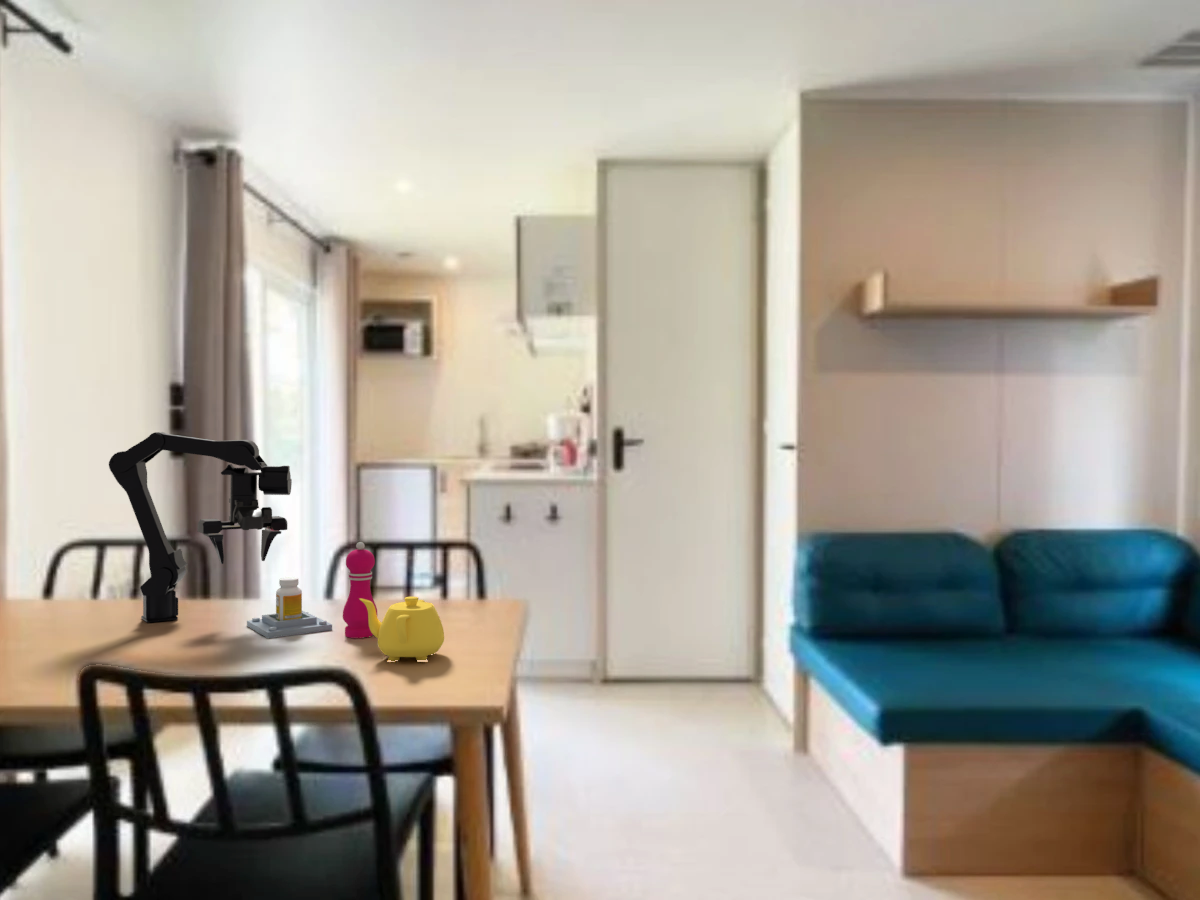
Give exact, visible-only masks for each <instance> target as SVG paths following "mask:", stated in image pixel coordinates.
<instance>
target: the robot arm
mask: <svg viewBox="0 0 1200 900" xmlns="http://www.w3.org/2000/svg"><path fill="white" fill-rule="evenodd" d="M162 451H169V452H173V453H174V452H176V453H183V454H191V455H198V456H205V457H211V458H212V457H213V458H215V459H219V460H221V461H224V462H227V463H230V464H227V466H226V467H225V469H223V470H222V471H221V472H220V474H221V476H230V480H229V481H230V486H229V487H230V488H229V491H230V492H229V493H230V495H229V498H228V502H229V515H228V521H222V520H221V519H218V518H203V519H200V520H199V521H197V532H199V533H201V534H202V535H203V536H204V537H208V538H209V540H210V542H211V544H212V545H213V547H214V550H215V554H216V555H217V558H218V560H219V563H220V564H221V565H223V564H224V560H225V556H224V545H223V544H224V543H223V540H224V534H223V533H221V532H222V531H224V530H225V531H226V530H242V531H249V530H257V531H258V530H261V540H260V541H261V545H260V550H261V551H260V557H261V562H265V560H266V558H267V555H268V552H269V550H270V547H271V545H272V543H273V540H274V539H275V538H276V537H277V536H278V535H281V534H282V531H286V530H287V531H288V520H287V518H285V517H282V516H279V515H278V516H277V515H273V509H272V507H270V506H266V507H261V508H260V507H259V499H257V498H258V495H257V494H258V490H259V491H260V492H263V495H265V496H267V495H269V496H290V495H291V492H292V483H293V482H292V478H291V470H290V467H291V466H289V465H280V466H278V465H277V466H274V465H273V466H272V465H270V466H269V465H268V464H267V463H266V462H265V460H264V459H263V458H262V457H261V456H260V449H259V447H258V445H257V444H256V442H254V441H253V440H250V439H238V440H237V439H235V440H234V439H231V440H229V439H228V440H213V439H206V438H205V439H204V438H201V437H199V438H198V437H192V436H185V435H177V434H170V433H166V432H163V431H159V432H153V433H151V434H150V435H148V436H147V437H145V438H144V439H143V440H142V441H139V442H138V443H136V444H135V445H133V446H131V447H130V448H128V449H127V450H124V451H123V450H122V451H118V452H116V453H114V454H113V455H112V456H111V457H110V459H109V461H108V468H109V471H110V472H111V474H112V475H113V477H114V479H115V480H116V482H117V483H118V484H119V485H120V486H121V488H122V489H123V490H124V492H125V493H126V495H127V496H128V499H129V503H130V505H131V508H132V511H133V512H134V515H135V516H134V517H135V518H136V520H137V521H136V522H137V523H138V526H139V528H140V532H141V534H142V537H143V539H144V541H145V544H146V548H147V549H148V566H149V573H150V577H149V578H148V579H147V580H146V581H145V582H144V583H143V584H142V585H140V587H139V588H140V592H141V595H142V609H143V610H142V615H141V617H140V618H141V619H142V620H143V621H144V622H145V623H156V622H167V621H173V620H179V617H178V616H179V597H177V595H176V594H177V593H176V592H177V591H175V589H176V587H177V584H178V583H179V582H180V581H182V580H183V579H184V577H185V575H186V572H187V571H186V569H187V568H186V566H188V562H186V561H185V558H184V555H183V550H182V549H181V548H178V549H174V548H173V547H172V546H171V544H170V543H169V541H168V537H167V535H166V533H165V530H164V527H163V524H162V521H161V519H160V516H159V514H158V512H157V509H156V506H155V503H154V500H153V498H152V495H151V493H150V490H149V488H148V469H147V463H148V462H150V461H151V460H153V459H154V458H155V457H157V455H158V454H159V453H161V452H162ZM234 465H235V466H242V467H235V466H234ZM243 466H245V467H243ZM249 470H251V471H249ZM252 471H253V472H252ZM255 471H256V472H255ZM259 471H260V472H259ZM263 528H264V529H263Z"/></svg>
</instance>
